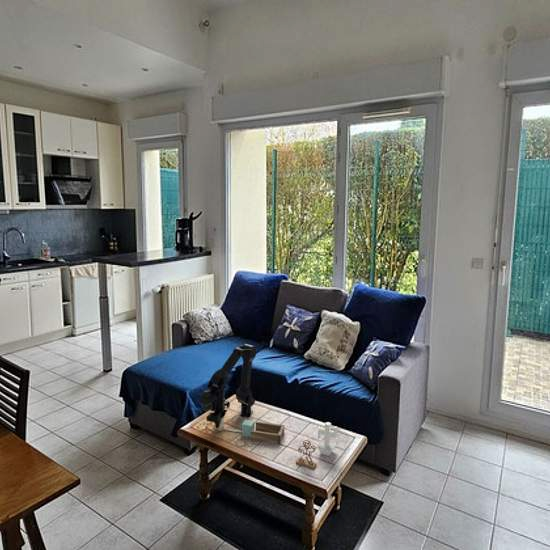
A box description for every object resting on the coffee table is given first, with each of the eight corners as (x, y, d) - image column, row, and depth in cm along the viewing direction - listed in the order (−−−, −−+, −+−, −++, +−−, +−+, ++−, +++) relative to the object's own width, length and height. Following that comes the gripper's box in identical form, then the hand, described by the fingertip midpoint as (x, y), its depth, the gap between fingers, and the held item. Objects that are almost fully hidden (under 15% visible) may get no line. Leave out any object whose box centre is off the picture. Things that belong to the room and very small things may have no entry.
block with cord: (219, 426, 221) (219, 415, 220) (254, 431, 217) (254, 421, 216) (215, 431, 216) (215, 420, 215) (251, 436, 212) (251, 425, 211)
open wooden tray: (256, 429, 220) (256, 421, 219) (284, 433, 216) (284, 425, 216) (250, 439, 210) (250, 431, 209) (279, 444, 206) (280, 435, 206)
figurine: (320, 445, 206) (321, 417, 203) (338, 451, 201) (340, 422, 199) (314, 453, 200) (315, 423, 197) (333, 459, 195) (334, 429, 193)
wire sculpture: (295, 463, 191) (296, 439, 189) (298, 459, 194) (299, 435, 192) (313, 469, 187) (314, 444, 185) (316, 465, 190) (317, 440, 188)
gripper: (210, 388, 227) (210, 415, 229) (196, 404, 209) (196, 433, 211) (230, 391, 224) (230, 418, 227) (217, 407, 206) (217, 436, 209)
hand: (218, 426), depth 218 cm, fingers closed on block with cord, 3 cm apart
